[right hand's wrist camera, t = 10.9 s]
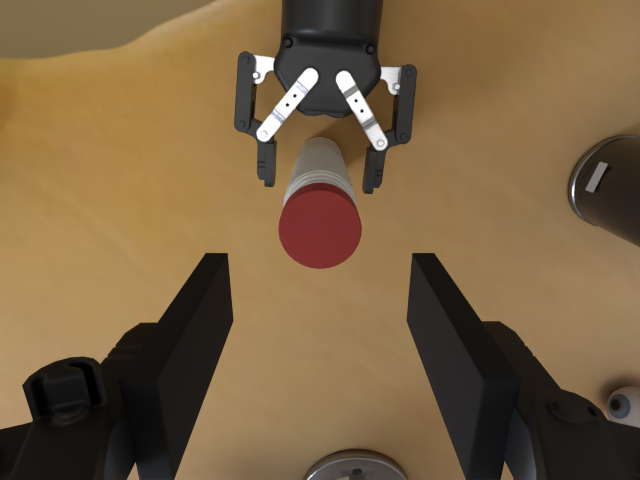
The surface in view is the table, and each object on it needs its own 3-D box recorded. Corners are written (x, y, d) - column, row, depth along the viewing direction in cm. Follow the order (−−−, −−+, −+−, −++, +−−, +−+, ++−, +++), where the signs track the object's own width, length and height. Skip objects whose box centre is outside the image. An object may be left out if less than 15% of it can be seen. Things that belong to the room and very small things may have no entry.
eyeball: (613, 368, 50) (650, 404, 44) (654, 384, 51) (696, 421, 45) (584, 404, 52) (616, 443, 46) (624, 419, 53) (661, 458, 47)
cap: (272, 193, 21) (268, 201, 20) (348, 173, 21) (351, 181, 19) (293, 262, 23) (291, 276, 21) (365, 245, 23) (369, 258, 21)
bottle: (293, 143, 40) (265, 197, 20) (336, 131, 40) (352, 175, 20) (304, 185, 42) (290, 276, 22) (346, 174, 42) (371, 257, 21)
